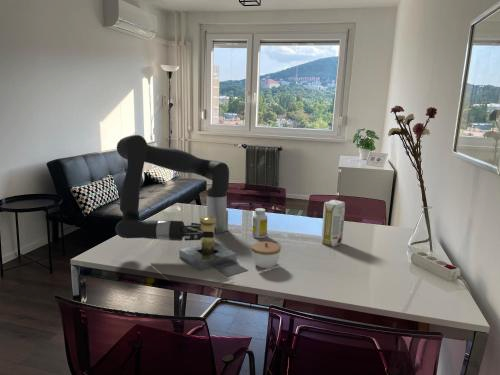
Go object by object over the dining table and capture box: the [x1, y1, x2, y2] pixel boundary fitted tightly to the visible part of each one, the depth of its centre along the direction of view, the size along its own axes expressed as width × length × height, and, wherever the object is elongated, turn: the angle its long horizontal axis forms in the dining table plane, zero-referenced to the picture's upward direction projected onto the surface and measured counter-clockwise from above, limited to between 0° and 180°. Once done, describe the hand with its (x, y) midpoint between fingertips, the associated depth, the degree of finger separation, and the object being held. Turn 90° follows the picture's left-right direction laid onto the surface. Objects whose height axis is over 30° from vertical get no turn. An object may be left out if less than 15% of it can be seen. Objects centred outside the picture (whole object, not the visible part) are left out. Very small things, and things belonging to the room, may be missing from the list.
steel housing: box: [178, 240, 237, 272], centre depth 146 cm, size 16×16×4 cm
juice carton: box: [321, 199, 346, 247], centre depth 166 cm, size 8×9×19 cm
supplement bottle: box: [252, 207, 268, 239], centre depth 173 cm, size 7×7×13 cm
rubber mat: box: [213, 261, 249, 278], centre depth 138 cm, size 9×9×1 cm
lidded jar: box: [251, 241, 282, 270], centre depth 141 cm, size 11×11×9 cm
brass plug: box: [199, 215, 216, 256], centre depth 144 cm, size 6×6×14 cm
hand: (214, 232), depth 143 cm, fingers closed on brass plug, 5 cm apart
